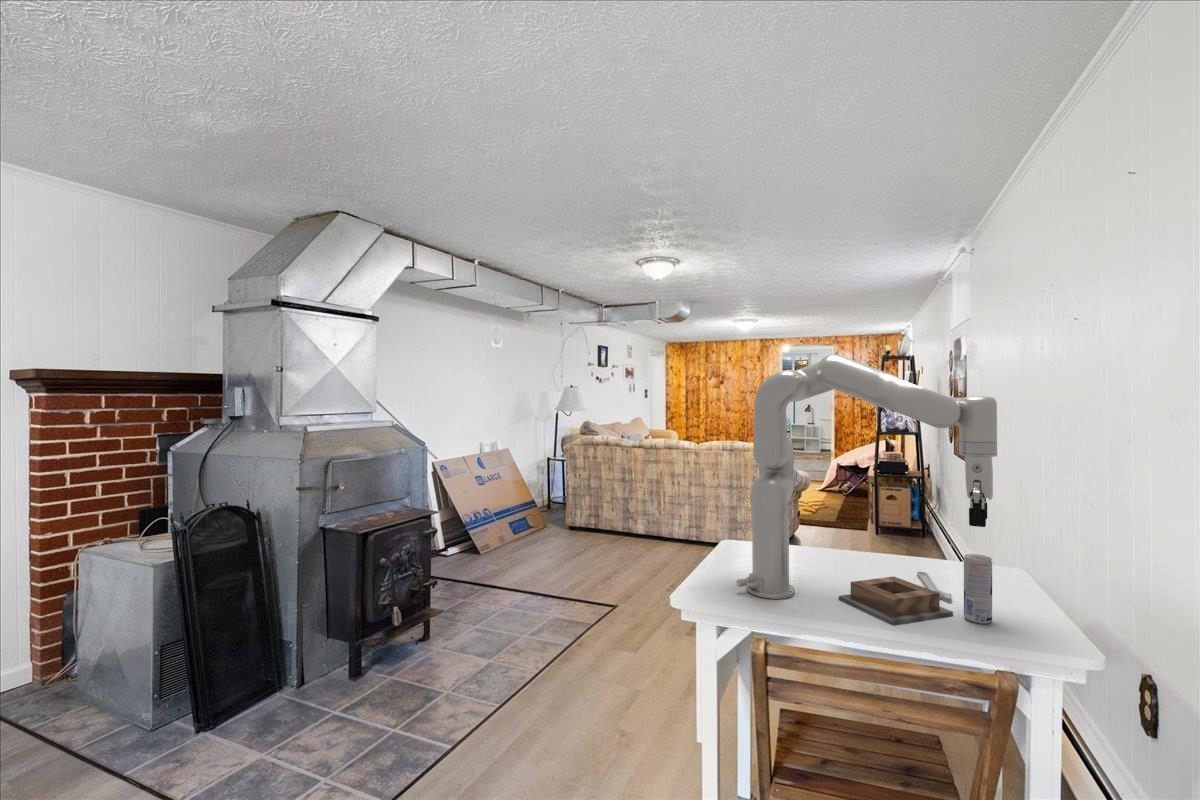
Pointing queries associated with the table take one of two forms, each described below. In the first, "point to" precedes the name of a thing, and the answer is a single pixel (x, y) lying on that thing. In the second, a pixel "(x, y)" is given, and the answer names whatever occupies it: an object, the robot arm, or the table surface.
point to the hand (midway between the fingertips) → (978, 522)
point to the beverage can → (978, 588)
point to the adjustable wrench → (933, 586)
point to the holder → (895, 600)
